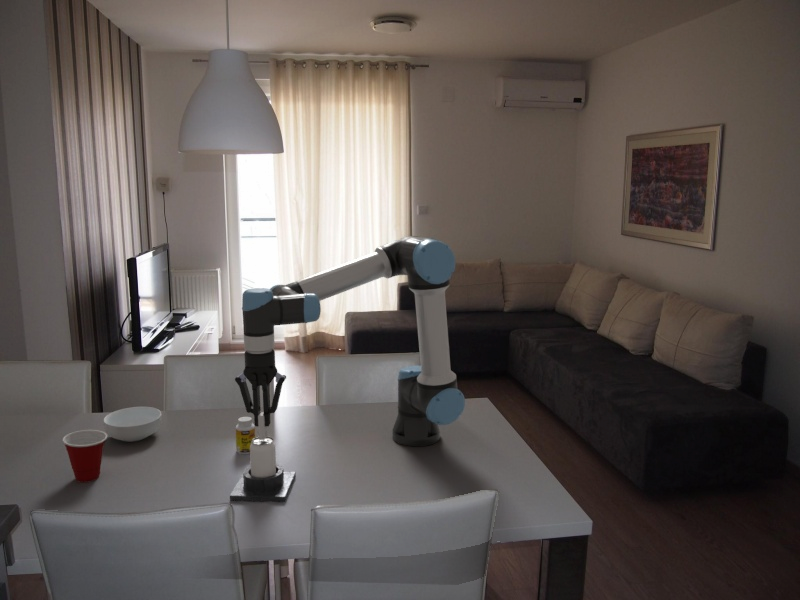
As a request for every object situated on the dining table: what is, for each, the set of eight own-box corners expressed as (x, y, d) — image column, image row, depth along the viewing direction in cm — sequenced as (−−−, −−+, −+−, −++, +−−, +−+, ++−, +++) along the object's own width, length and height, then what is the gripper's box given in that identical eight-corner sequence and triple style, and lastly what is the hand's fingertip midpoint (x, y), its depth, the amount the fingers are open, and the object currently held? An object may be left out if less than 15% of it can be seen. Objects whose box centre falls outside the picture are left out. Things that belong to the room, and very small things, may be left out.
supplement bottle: (240, 456, 185) (238, 423, 184) (233, 449, 190) (232, 417, 188) (258, 452, 188) (257, 419, 187) (251, 445, 193) (250, 414, 191)
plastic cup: (103, 485, 167) (99, 443, 165) (59, 488, 166) (55, 445, 163) (115, 467, 178) (112, 427, 175) (75, 469, 176) (71, 429, 174)
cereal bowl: (92, 442, 195) (90, 420, 193) (133, 423, 210) (132, 403, 209) (135, 451, 188) (133, 429, 187) (174, 431, 204) (172, 410, 202)
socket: (295, 476, 173) (295, 459, 172) (284, 502, 159) (284, 483, 158) (244, 475, 173) (244, 458, 173) (230, 501, 160) (229, 482, 159)
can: (253, 477, 169) (251, 435, 167) (277, 477, 170) (276, 435, 167) (249, 489, 163) (247, 445, 160) (274, 488, 163) (273, 445, 161)
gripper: (288, 346, 163) (290, 432, 167) (238, 345, 163) (242, 431, 168) (282, 354, 156) (285, 443, 160) (229, 353, 156) (234, 443, 160)
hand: (263, 437), depth 164 cm, fingers closed
